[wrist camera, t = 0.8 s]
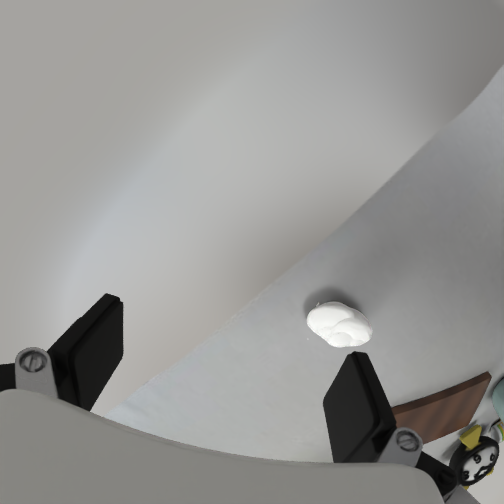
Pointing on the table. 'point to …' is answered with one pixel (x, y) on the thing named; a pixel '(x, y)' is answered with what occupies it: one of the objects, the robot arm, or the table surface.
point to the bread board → (443, 409)
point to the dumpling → (339, 324)
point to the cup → (499, 399)
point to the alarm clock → (474, 457)
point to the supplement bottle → (498, 432)
